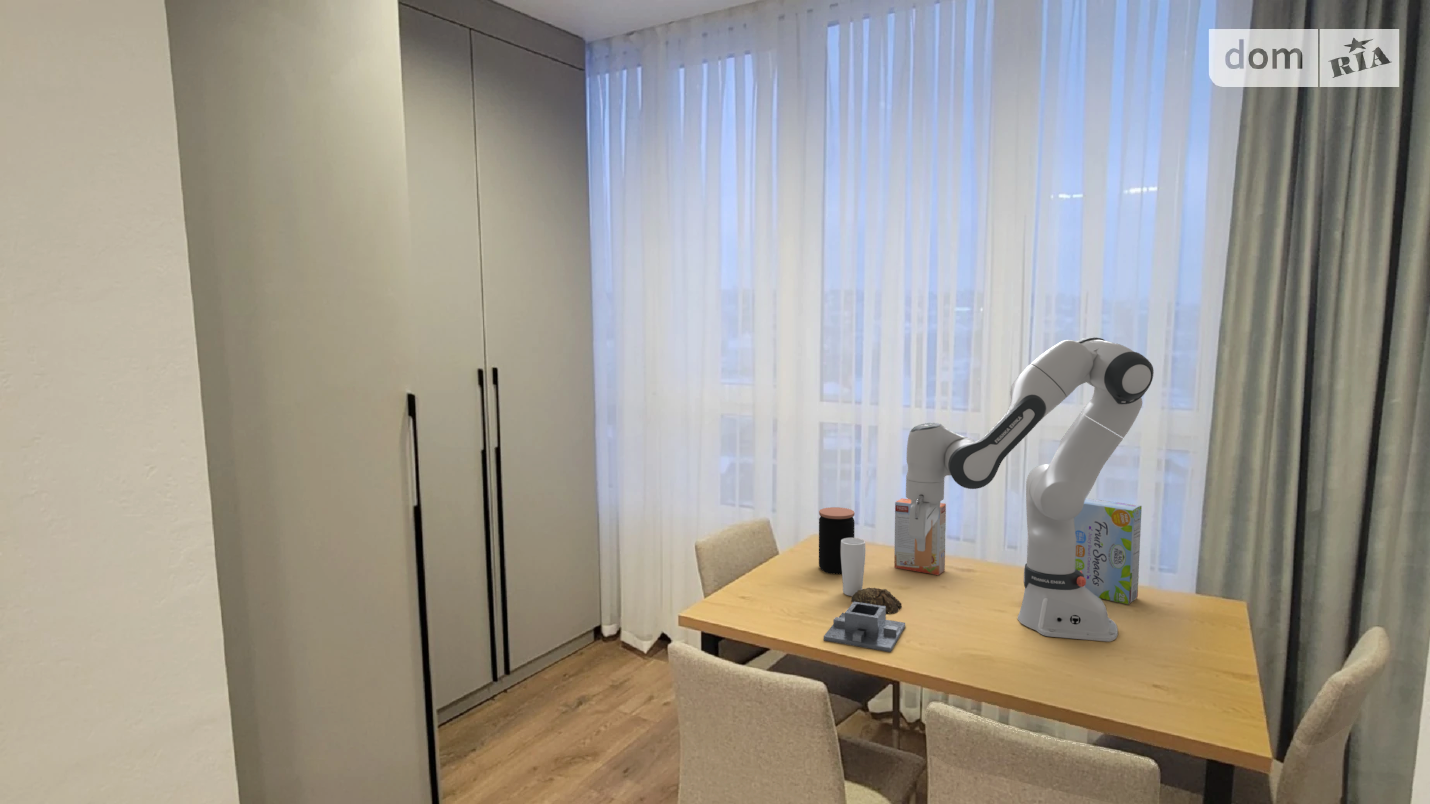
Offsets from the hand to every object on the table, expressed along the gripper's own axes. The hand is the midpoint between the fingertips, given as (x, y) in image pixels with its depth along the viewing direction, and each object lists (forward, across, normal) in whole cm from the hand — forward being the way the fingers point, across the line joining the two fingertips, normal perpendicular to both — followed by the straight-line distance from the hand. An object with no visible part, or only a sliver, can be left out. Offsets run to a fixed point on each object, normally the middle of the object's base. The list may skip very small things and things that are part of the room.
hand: (923, 547), depth 185 cm
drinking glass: (+22, +19, +22) cm, 36 cm away
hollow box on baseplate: (+21, -6, +12) cm, 25 cm away
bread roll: (+22, +13, +14) cm, 29 cm away
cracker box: (+21, +46, +9) cm, 52 cm away
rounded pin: (+4, 0, 0) cm, 4 cm away
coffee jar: (+22, +37, +32) cm, 53 cm away
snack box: (+21, +46, -38) cm, 63 cm away
